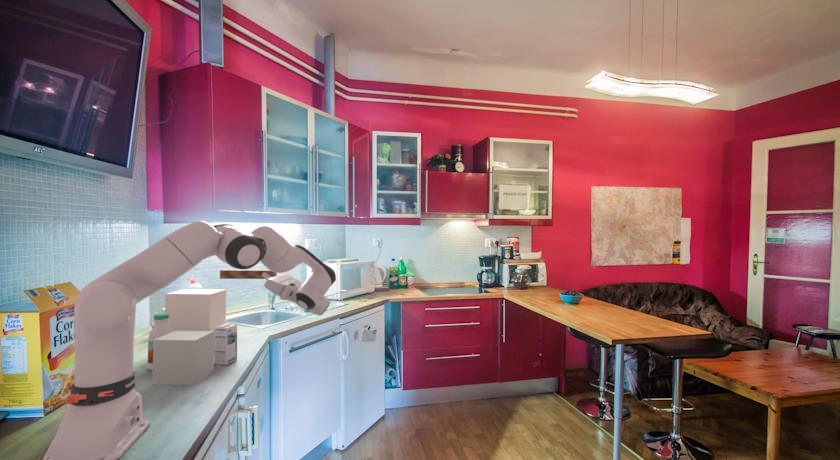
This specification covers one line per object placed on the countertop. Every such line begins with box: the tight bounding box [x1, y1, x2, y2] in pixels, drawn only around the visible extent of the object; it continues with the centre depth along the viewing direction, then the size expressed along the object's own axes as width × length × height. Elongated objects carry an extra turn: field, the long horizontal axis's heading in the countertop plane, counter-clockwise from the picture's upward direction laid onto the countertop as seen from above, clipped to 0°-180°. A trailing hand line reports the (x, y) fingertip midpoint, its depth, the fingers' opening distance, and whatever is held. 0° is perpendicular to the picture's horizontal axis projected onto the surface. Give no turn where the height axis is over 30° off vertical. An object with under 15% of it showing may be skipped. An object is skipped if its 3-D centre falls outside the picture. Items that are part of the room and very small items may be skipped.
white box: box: [164, 288, 227, 332], centre depth 147 cm, size 18×12×26 cm, turn 91°
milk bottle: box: [147, 312, 173, 372], centre depth 131 cm, size 8×8×20 cm
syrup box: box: [214, 323, 238, 366], centre depth 137 cm, size 6×6×14 cm
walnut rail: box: [219, 268, 277, 280], centre depth 147 cm, size 22×4×4 cm, turn 91°
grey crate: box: [151, 331, 215, 386], centre depth 122 cm, size 14×11×15 cm
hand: (265, 273), depth 147 cm, fingers closed on walnut rail, 3 cm apart
